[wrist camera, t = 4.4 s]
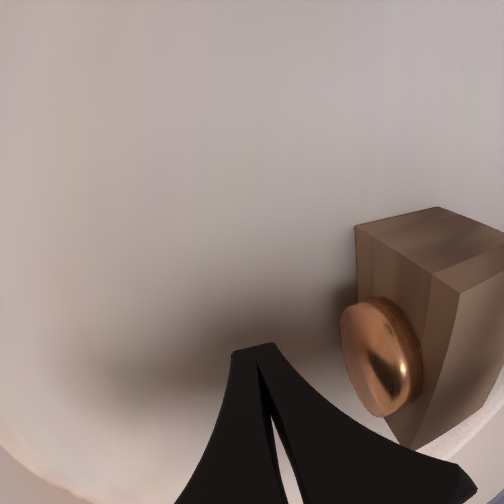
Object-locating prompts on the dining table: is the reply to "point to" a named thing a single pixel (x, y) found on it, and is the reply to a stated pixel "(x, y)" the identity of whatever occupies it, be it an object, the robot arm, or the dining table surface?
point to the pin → (381, 355)
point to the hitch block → (439, 310)
